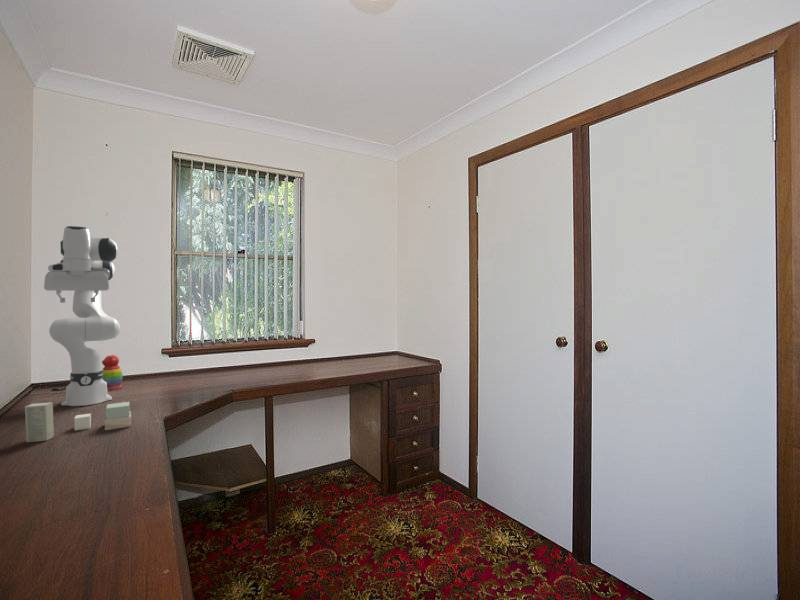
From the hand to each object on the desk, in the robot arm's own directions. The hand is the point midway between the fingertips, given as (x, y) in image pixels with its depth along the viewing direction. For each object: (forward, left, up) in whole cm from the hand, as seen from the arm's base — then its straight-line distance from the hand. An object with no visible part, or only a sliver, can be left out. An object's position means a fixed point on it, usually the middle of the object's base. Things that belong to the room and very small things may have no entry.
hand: (78, 302), depth 164 cm
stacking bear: (-60, +8, -47) cm, 76 cm away
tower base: (+17, +13, -47) cm, 52 cm away
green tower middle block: (+17, +13, -43) cm, 48 cm away
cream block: (+13, +2, -46) cm, 48 cm away
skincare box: (+21, -9, -47) cm, 52 cm away
